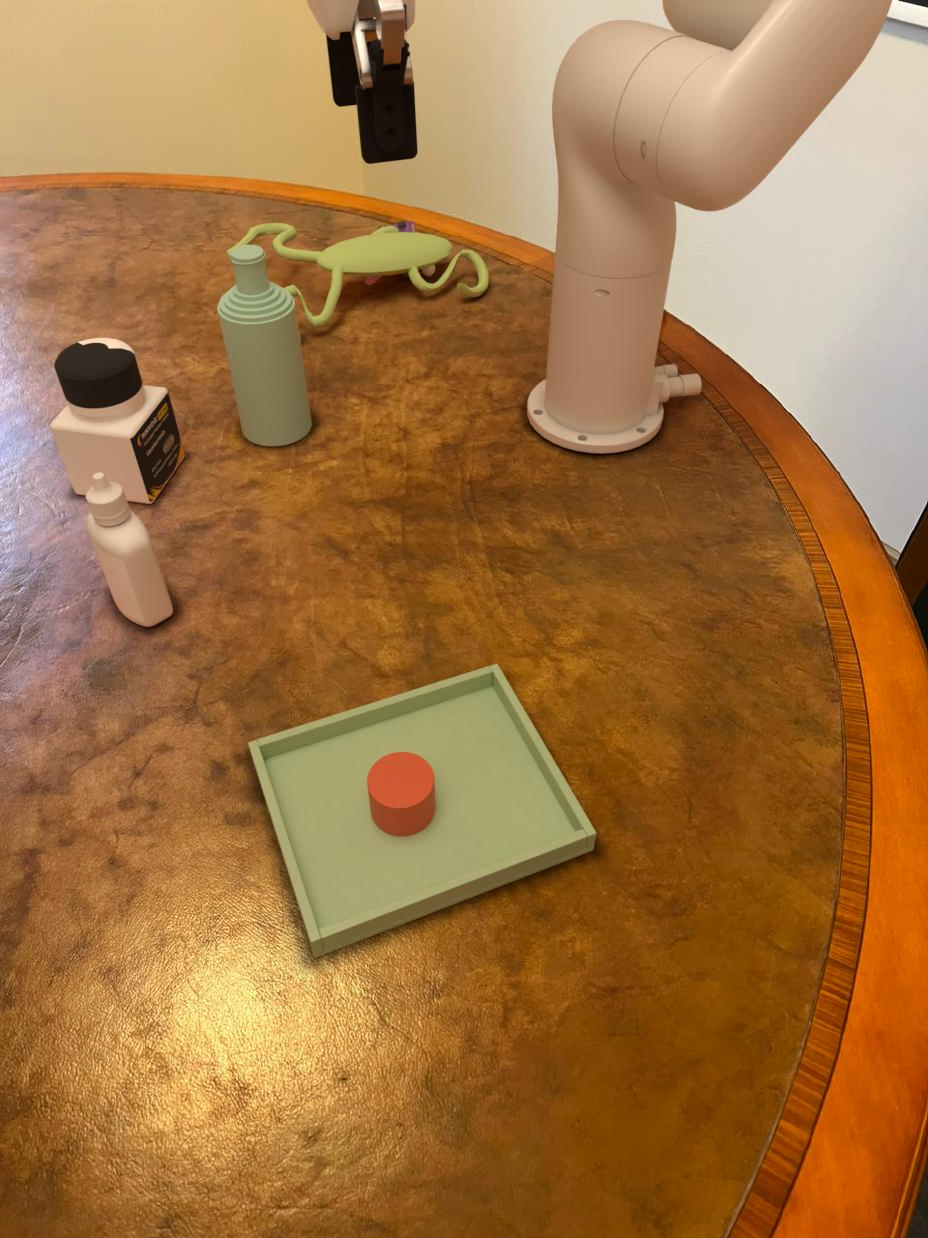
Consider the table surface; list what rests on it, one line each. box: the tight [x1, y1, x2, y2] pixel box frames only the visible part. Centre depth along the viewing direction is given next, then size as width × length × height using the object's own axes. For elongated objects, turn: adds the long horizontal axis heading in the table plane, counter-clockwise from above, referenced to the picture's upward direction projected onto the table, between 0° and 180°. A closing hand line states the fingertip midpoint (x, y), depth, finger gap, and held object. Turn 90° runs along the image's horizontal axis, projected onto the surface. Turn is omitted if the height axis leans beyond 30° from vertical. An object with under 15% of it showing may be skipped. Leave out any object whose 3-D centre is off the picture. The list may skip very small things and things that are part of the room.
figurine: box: [225, 220, 490, 341], centre depth 103 cm, size 18×27×6 cm
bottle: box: [216, 244, 313, 447], centre depth 80 cm, size 6×6×16 cm
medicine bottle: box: [49, 337, 186, 505], centre depth 76 cm, size 7×7×12 cm
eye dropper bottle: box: [85, 473, 174, 628], centre depth 65 cm, size 4×6×12 cm
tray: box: [247, 663, 597, 959], centre depth 57 cm, size 17×14×2 cm
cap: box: [367, 752, 435, 836], centre depth 56 cm, size 4×4×3 cm
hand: (373, 129), depth 57 cm, fingers open, 9 cm apart
